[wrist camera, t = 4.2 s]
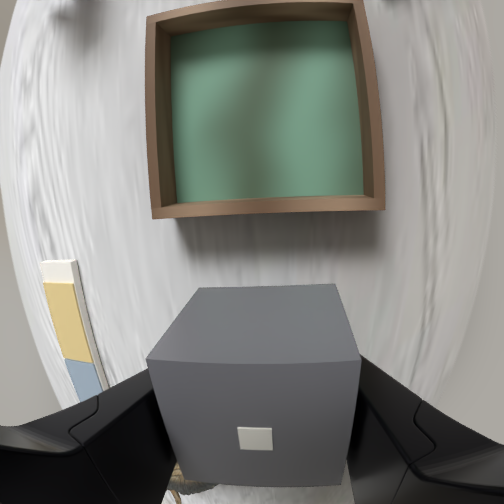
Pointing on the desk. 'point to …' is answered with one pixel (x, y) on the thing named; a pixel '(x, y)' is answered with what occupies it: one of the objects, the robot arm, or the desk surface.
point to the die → (259, 385)
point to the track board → (73, 326)
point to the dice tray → (262, 109)
